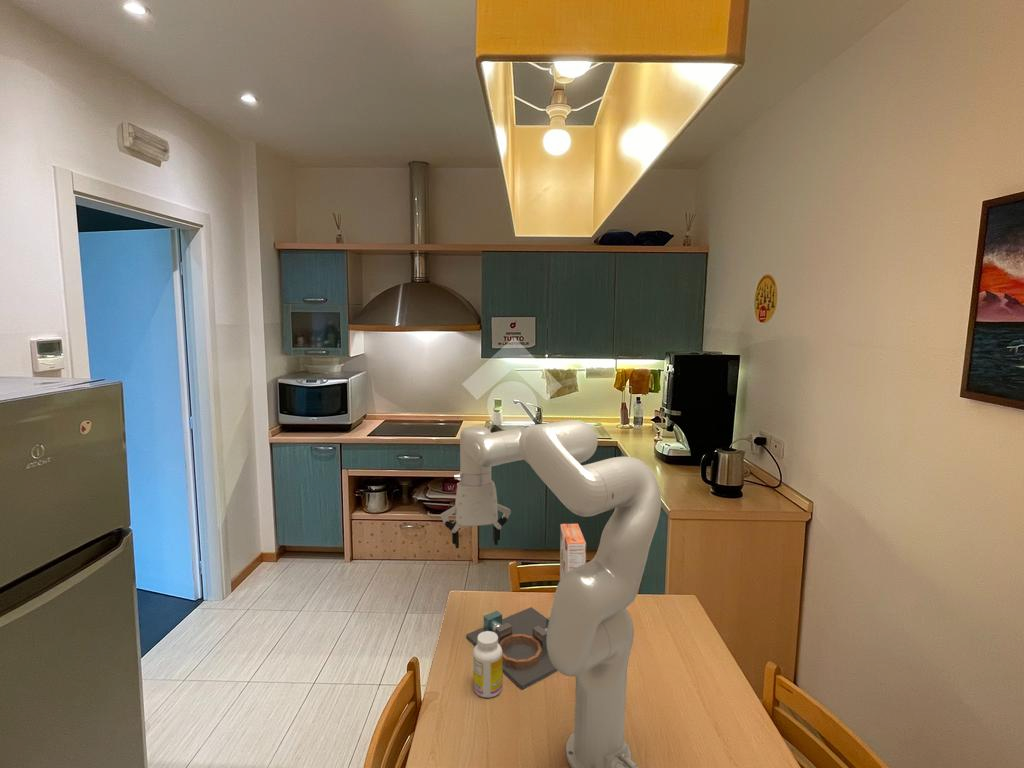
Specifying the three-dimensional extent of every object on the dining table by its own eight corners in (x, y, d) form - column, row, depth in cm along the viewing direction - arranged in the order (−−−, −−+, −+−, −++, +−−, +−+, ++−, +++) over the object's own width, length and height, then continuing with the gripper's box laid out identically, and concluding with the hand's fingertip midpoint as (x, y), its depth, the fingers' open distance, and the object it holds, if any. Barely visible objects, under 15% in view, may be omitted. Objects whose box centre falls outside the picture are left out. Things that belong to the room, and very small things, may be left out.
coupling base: (590, 653, 133) (591, 635, 133) (521, 690, 120) (522, 670, 120) (531, 610, 153) (531, 594, 152) (466, 637, 139) (466, 620, 139)
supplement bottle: (504, 679, 124) (504, 629, 122) (500, 700, 117) (500, 647, 115) (475, 677, 124) (475, 627, 123) (470, 697, 118) (470, 645, 116)
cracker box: (558, 586, 166) (559, 522, 163) (577, 585, 166) (579, 522, 163) (564, 611, 152) (566, 542, 149) (585, 610, 152) (587, 542, 150)
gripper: (441, 484, 123) (442, 554, 125) (513, 480, 126) (513, 548, 128) (439, 475, 130) (440, 540, 132) (507, 471, 133) (507, 535, 136)
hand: (476, 544), depth 130 cm, fingers open, 9 cm apart
